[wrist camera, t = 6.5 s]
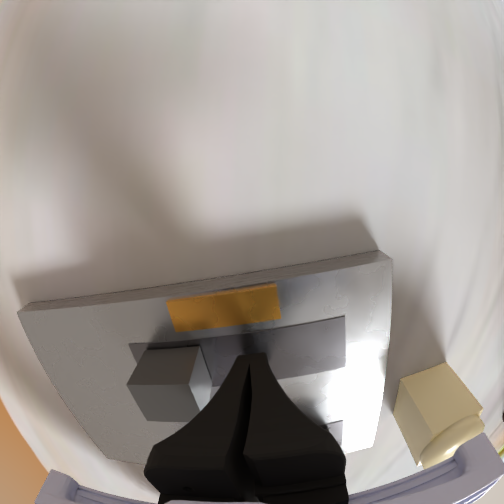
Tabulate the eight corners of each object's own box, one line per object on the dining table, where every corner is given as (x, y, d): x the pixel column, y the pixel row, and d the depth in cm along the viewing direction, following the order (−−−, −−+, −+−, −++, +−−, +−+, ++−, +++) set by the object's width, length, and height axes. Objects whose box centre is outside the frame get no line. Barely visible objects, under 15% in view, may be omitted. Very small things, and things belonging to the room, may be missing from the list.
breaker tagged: (212, 383, 14) (205, 421, 11) (160, 385, 14) (147, 421, 11) (199, 346, 13) (188, 384, 10) (145, 350, 13) (126, 384, 11)
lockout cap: (437, 399, 17) (470, 451, 11) (388, 417, 17) (415, 478, 11) (449, 357, 16) (494, 411, 10) (396, 376, 16) (435, 443, 10)
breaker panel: (367, 432, 17) (372, 447, 16) (112, 446, 19) (107, 459, 17) (379, 250, 13) (394, 260, 12) (29, 303, 15) (14, 313, 13)
